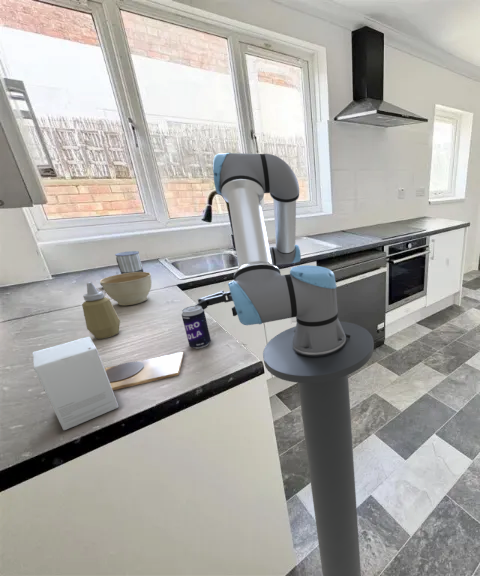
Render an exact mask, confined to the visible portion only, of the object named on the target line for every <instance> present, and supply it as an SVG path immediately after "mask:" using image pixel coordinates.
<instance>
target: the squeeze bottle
mask: <svg viewBox="0 0 480 576" xmlns="http://www.w3.org/2000/svg"><path fill="white" fill-rule="evenodd" d="M82 298H83V299H84V301H83V302H82V303H81V306H82V311H83V316H84V320H85V326H86V330H88V332H89V333H90V334H91V335H93V337H94V338H95V339H99V340H102V339H107V338H110V337H115V336H116V335H118V334H119V333H120V326H121V320H120V318H119V315H118V313H117V311H116V309H115V307H114V305H113V303H112V301H111V299H110V297H105V293H104V292H103V291H101V290H100V291H99V290H98V289H97V288H96V286H95V284H94V283H93V282H92V281H89V282H86V293H85V294H84V295H83V297H82Z"/></svg>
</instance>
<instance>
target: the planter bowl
mask: <svg viewBox="0 0 480 576" xmlns="http://www.w3.org/2000/svg"><path fill="white" fill-rule="evenodd" d="M100 283H101V284H100ZM99 284H100V286H101V285H102V289H103V291H104V292H105V293H106V295H107V296H108V298H111V300H113V301H115V302H116V303H117V304H118V305H119V306H132V305H137V304H141V303H144V302H145V301H147V300H148V295H149V293H150V292H151V289H152V274H151V272H148V271H143V272H131V273H124V274H121V273H119V274H114V275H110V276H106V277H103V278H101V279H100V280H99Z"/></svg>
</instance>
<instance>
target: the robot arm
mask: <svg viewBox="0 0 480 576" xmlns="http://www.w3.org/2000/svg"><path fill="white" fill-rule="evenodd" d="M212 173H213V184H214V188H215V192H216V193H217V194H218V195H221V197H222V198H223V200H224V201H225V202H226V203H228V206H229V212H230V220H231V226H232V233H233V239H234V246H235V252H236V260H237V266H238V269H237V270H236V271H235V272H234V273H233V280H231V281H229V282H228V284H227V285H228V289H229V291H226V292H225V291H224V290H219V291H218V292H215V293H211V294H209V295H206V296H202V297H199V298H198V299H197V302H198V303H196V304H195V305H194V306H201V307H202V309H203V310H204V311H205V310H206V309H207V308H208V307H209V306H214V305H218V304H221V303H229V302H233V305H234V306H233V307H231V312H232V316H233V317H237V319H238V320H239V322H240V324H242V325H243V326H253V325H262V324H265V323H270V322H276V321H281V320H286V319H292V318H295V321H296V325H295V326H296V328H295V330H294V337H293V350H294V352H295V353H297V354H298V355H300V356H303V357H308V358H319V357H326V356H329V355H332V354H335V353H337V352H339V351H340V350H341V349H343V347H344V346H345V344H346V337H347V338H350V335H348V334H345V333H344V330H343V328H342V326H341V324H340V319H339V312H338V311H339V309H338V297H337V281H336V275H335V273H334V272H333V270H331V269H330V268H327V267H324V266H319V265H310V264H309V265H307V264H305V265H296V266H293V267H291V268H290V270H289V273H288V274H281V270H280V268H279V267H278V266H279V265H280V266H281V265H288V264H289V265H291V264H295V263H300V262H301V259H302V256H301V255H302V254H301V249H300V246H299V245H298V244H296V235H297V234H296V232H297V231H296V229H297V227H296V226H297V225H296V224H297V200H298V199H299V197H300V185H299V180H298V178H297V175H296V174H295V172H294V170H293V169H292V168H291V166H290V165H289V164H288V163H287V162H286V161H285V160H284V159H282V158H281V157H279V156H277V155H274V154H271V153H245V152H244V153H243V152H242V153H241V152H239V153H238V152H225V153H223V152H222V153H217V154H215V155H214V156H213V161H212ZM265 194H269V196H270V197H271V199H272V200H273V217H274V233H275V234H274V236H275V246H270V243H269V238H268V234H267V228H266V223H265V218H264V214H263V208H262V204H261V201H262V200H263V198H264V196H265Z"/></svg>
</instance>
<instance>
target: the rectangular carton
mask: <svg viewBox="0 0 480 576" xmlns="http://www.w3.org/2000/svg"><path fill="white" fill-rule="evenodd" d="M32 359H33V363H32V364H33V371H34V372H35V374H36V376H37V378H38V380H39V382H40V384H41V386H42V388H43V390H44V392H45V395H46V397H47V398H48V399H47V400H48V401H49V403H50V405H51V407H52V409H53V411H54V414H55V416H56V418H57V420H58V422H59V424H60V426H61V428H62V430H63V431H66V430H70V429H71V428H73V427H76V426H78V425H82V424H83V423H85V422H88V421H90V420H92V419H96V418H97V417H100V416H103V415H105V414H106V413H109V412H111V411H113V410H116V409H118V408H119V403H118V401H117V398H116V395H115V393H114V390H112V387H111V384H110V382H109V379H108V376H107V374H106V371H105V369H104V368H105V365H104V364H103V361H102V359H101V356H100V353H99V351H98V349H97V346H96V345H95V343H94V341H93V340H92V339H91V337H90V336H89V335H88V336H85V337H81V338H77V339H75V340H71V341H68V342H63V343H61V344H56V345H53V346H50V347H46V348H43V349H39V350H36V351H32Z"/></svg>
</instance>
